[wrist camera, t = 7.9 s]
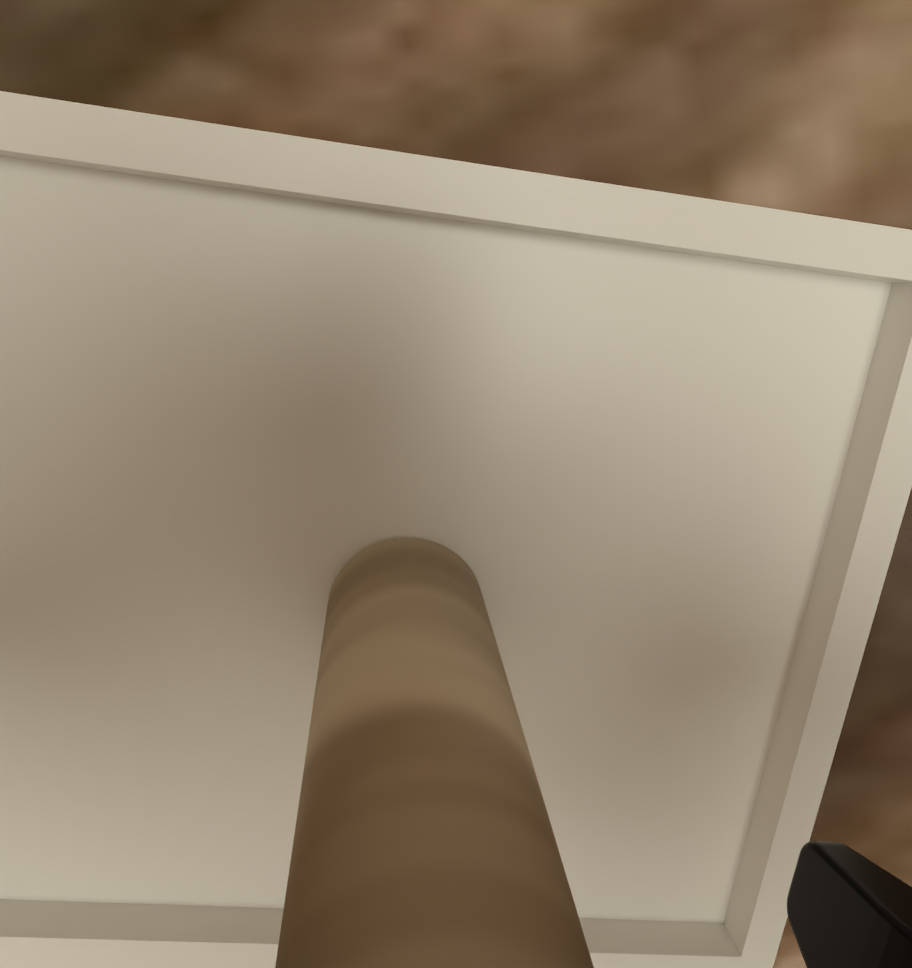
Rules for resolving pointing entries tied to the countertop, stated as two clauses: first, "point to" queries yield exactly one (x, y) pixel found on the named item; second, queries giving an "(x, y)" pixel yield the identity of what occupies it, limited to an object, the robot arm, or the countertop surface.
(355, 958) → the dowel
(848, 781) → the countertop surface
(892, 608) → the countertop surface
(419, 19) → the countertop surface
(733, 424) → the tray
